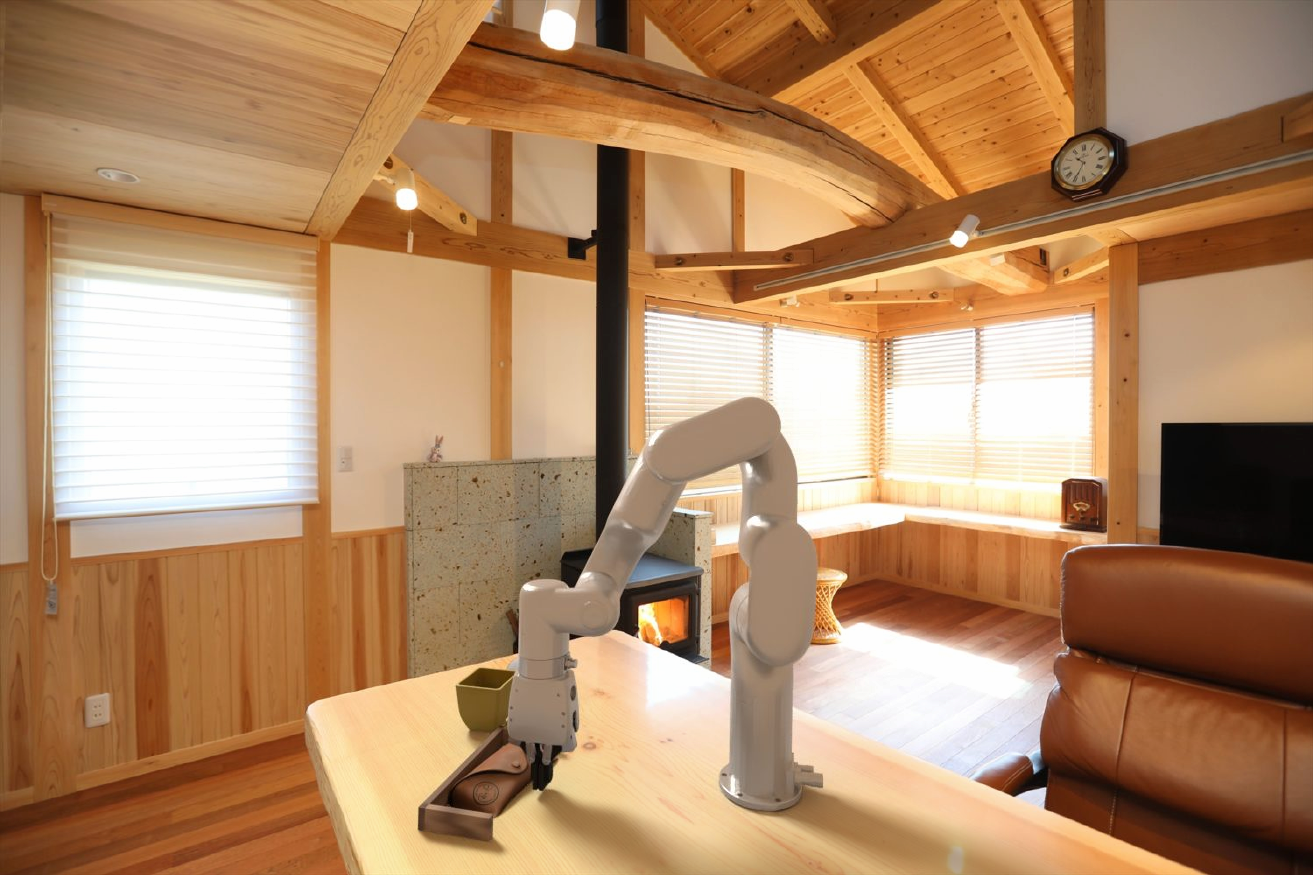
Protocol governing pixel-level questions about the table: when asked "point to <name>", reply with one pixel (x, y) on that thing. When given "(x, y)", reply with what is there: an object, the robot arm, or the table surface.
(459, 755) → the table surface
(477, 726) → the flower pot
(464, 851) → the table surface
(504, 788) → the sunglasses case
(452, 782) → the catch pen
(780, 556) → the robot arm
